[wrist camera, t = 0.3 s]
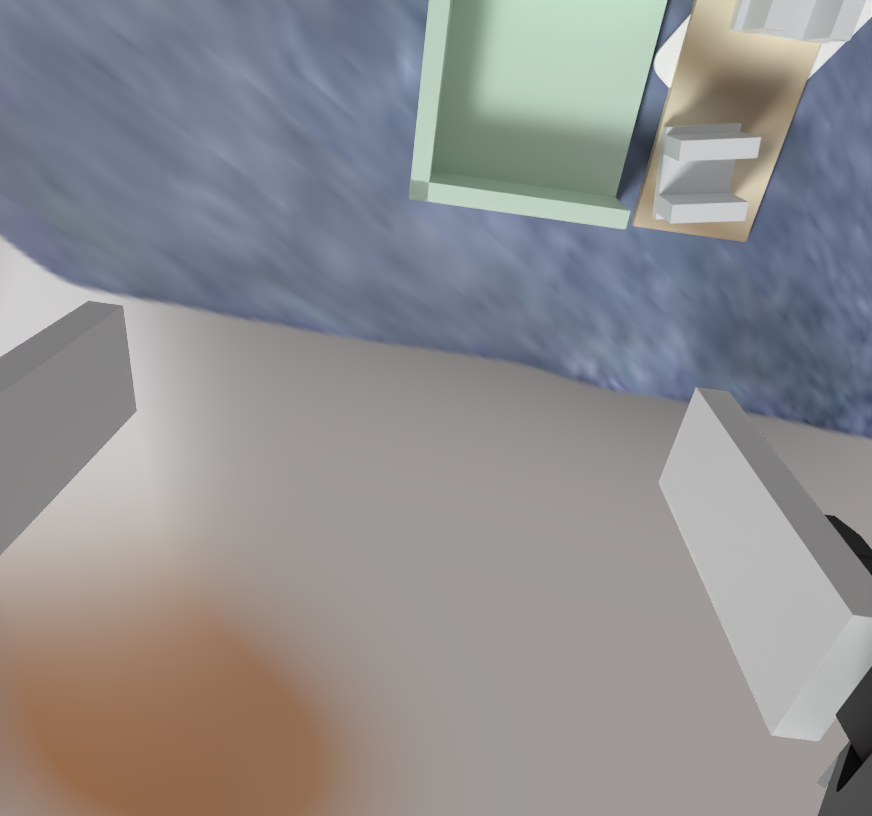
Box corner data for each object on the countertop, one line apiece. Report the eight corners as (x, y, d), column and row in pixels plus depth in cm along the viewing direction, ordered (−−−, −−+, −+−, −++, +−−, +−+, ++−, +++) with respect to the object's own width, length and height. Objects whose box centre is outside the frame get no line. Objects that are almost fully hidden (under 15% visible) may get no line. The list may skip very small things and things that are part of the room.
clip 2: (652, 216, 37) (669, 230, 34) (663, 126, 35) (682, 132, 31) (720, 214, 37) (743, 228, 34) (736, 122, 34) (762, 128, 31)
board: (731, -133, 29) (735, -137, 29) (873, -111, 30) (880, -114, 29) (630, 223, 38) (633, 226, 37) (741, 239, 38) (745, 241, 37)
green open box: (440, -60, 31) (436, -77, 27) (670, -25, 32) (699, -37, 28) (415, 184, 37) (408, 198, 33) (609, 212, 38) (625, 229, 34)
